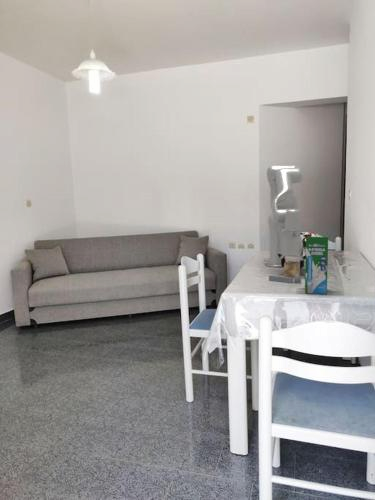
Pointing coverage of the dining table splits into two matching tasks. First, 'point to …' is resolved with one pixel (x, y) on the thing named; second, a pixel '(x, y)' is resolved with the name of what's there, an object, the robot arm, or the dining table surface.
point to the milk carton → (316, 265)
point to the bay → (288, 278)
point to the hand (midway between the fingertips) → (292, 267)
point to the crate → (291, 269)
